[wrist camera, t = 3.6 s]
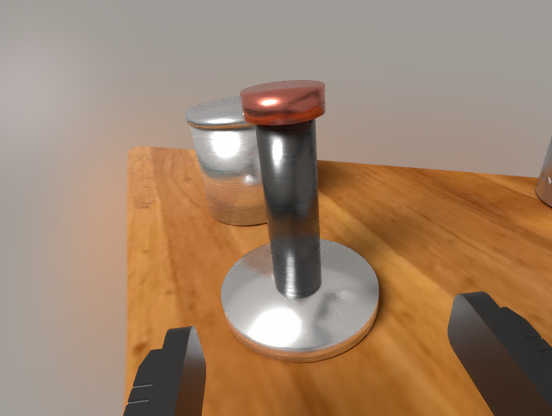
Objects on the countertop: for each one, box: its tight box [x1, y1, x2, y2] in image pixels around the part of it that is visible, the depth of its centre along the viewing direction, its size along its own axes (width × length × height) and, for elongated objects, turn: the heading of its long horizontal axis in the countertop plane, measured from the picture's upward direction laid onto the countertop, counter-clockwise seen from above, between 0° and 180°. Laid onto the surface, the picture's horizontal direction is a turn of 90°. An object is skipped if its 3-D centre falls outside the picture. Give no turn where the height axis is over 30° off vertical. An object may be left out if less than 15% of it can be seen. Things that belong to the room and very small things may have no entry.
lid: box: [221, 80, 379, 363], centre depth 19 cm, size 10×10×13 cm
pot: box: [185, 96, 267, 225], centre depth 32 cm, size 9×9×10 cm
